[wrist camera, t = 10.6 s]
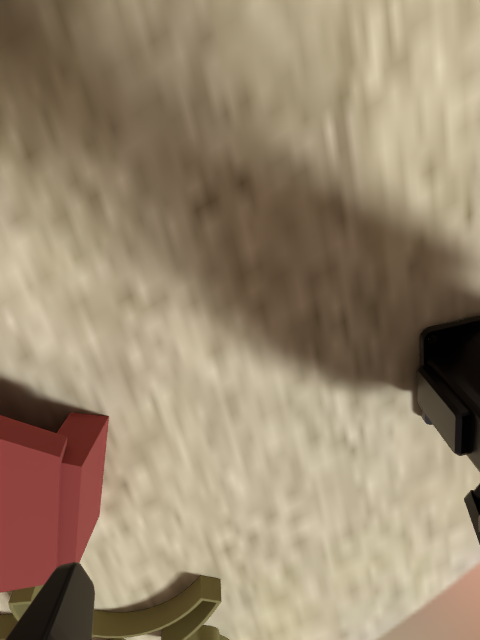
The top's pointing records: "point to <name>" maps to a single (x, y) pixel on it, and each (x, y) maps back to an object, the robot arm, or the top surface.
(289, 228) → the top surface
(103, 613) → the cookie cutter
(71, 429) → the red wedge doorstop
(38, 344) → the top surface
